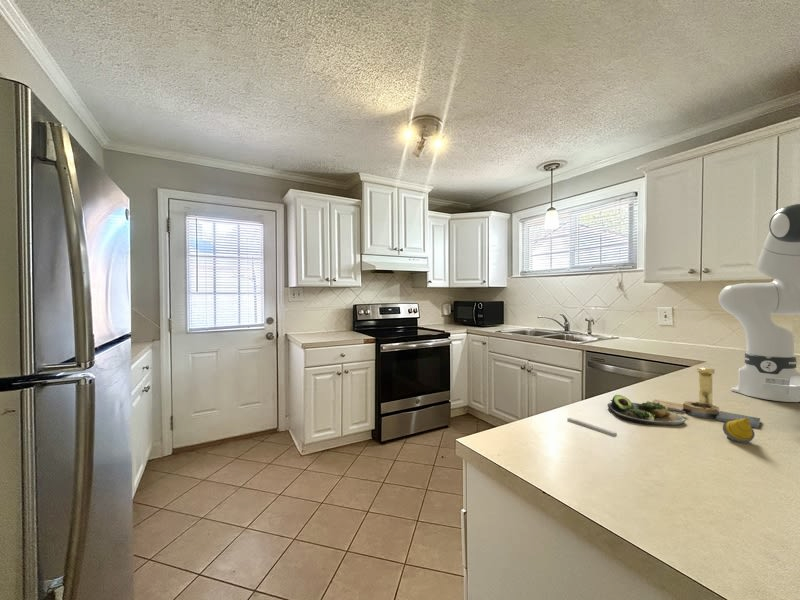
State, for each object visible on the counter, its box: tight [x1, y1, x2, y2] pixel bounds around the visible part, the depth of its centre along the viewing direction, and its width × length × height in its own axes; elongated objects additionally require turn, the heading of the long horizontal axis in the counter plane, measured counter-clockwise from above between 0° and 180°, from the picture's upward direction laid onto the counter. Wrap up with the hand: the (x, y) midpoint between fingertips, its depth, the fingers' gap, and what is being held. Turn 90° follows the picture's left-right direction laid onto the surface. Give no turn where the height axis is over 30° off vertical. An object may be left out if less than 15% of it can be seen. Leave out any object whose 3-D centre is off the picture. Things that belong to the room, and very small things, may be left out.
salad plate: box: [607, 394, 687, 426], centre depth 98 cm, size 19×18×5 cm
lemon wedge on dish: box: [722, 418, 756, 444], centre depth 79 cm, size 5×5×10 cm
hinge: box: [651, 398, 761, 429], centre depth 98 cm, size 7×23×2 cm, turn 40°
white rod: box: [566, 417, 618, 437], centre depth 89 cm, size 12×1×1 cm, turn 30°
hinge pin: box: [696, 366, 715, 405], centre depth 104 cm, size 4×4×12 cm
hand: (764, 383), depth 94 cm, fingers open, 8 cm apart
